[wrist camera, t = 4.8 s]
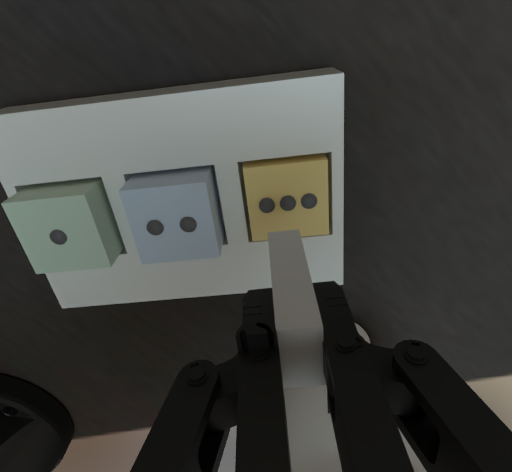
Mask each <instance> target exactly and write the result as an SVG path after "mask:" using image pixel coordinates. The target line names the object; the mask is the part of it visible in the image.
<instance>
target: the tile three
mask: <svg viewBox="0 0 512 472" xmlns="http://www.w3.org/2000/svg"><path fill="white" fill-rule="evenodd" d="M243 176H244V183H245V190H246V197H247V205H248V212H249V219H250V227H251V234H252V241H262V240H268V232H278V231H287V230H297V229H299V231H300V235H301V237H305V236H316V235H326V234H329V200H328V159H327V157H326V155H325V153H317V154H308V155H299V156H289V157H280V158H271V159H261V160H252V161H243Z"/></svg>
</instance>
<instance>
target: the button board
mask: <svg viewBox="0 0 512 472" xmlns="http://www.w3.org/2000/svg"><path fill="white" fill-rule="evenodd" d="M317 153H325V155H326V157H327V159H328V200H329V234H326V235H316V236H305V237H301V239H302V243H303V247H304V251H305V255H306V259H307V263H308V268H309V272H310V276H311V280H312V283H316V282H326V281H335V282H336V283H337V284H338V285H343V206H344V73H343V72H341V71H339V70H337V69H335V68H333V67H329V68H321V69H313V70H305V71H296V72H288V73H280V74H272V75H264V76H256V77H248V78H240V79H231V80H223V81H215V82H207V83H199V84H191V85H183V86H174V87H166V88H158V89H150V90H142V91H134V92H126V93H117V94H109V95H101V96H93V97H85V98H77V99H69V100H60V101H52V102H44V103H36V104H28V105H20V106H12V107H6V108H2V109H0V181H1V183H2V186H3V188H4V190H5V192H6V194H7V196H8V198H10V197H11V196H13V195H14V194H16V193H17V192H19V191H20V190H22V189H23V188H25V187H26V186H28V185H30V184H39V183H49V182H58V181H67V180H76V179H86V178H95V177H101V178H102V181H103V184H104V187H105V190H106V193H107V196H108V198H109V201H110V204H111V207H112V210H113V213H114V216H115V219H116V222H117V225H118V228H119V231H120V234H121V237H122V240H123V243H124V248H123V249H122V251H121V253H120V254H119V256H118V257H117V259H116V261H115V262H114V264H113V265H112V267H108V268H97V269H86V270H75V271H64V272H53V273H45V274H46V276H47V278H48V280H49V282H50V285H51V287H52V289H53V291H54V293H55V295H56V297H57V299H58V301H59V303H60V305H61V307H62V308H73V307H85V306H97V305H108V304H120V303H132V302H144V301H156V300H168V299H179V298H191V297H203V296H215V295H227V294H238V293H247V292H248V290H254V289H264V288H272V280H271V269H270V257H269V245H268V240H262V241H252V234H251V227H250V219H249V212H248V205H247V197H246V190H245V183H244V176H243V161H252V160H261V159H271V158H280V157H289V156H299V155H308V154H317ZM206 165H212V168H213V174H214V179H215V185H216V190H217V196H218V201H219V207H220V213H221V218H222V224H223V229H224V238H223V244H222V250H221V255H220V257H218V258H207V259H196V260H185V261H174V262H163V263H152V264H142V263H141V260H140V257H139V253H138V250H137V247H136V244H135V241H134V238H133V235H132V232H131V228H130V225H129V222H128V219H127V216H126V213H125V210H124V207H123V204H122V200H121V197H120V194H119V190H120V189H121V188H122V187H123V185H124V184H125V183H126V182H127V181H128V180H129V179H130V177H131V176H132V175H133V174H134V173H141V172H150V171H160V170H169V169H178V168H187V167H197V166H206Z"/></svg>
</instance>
